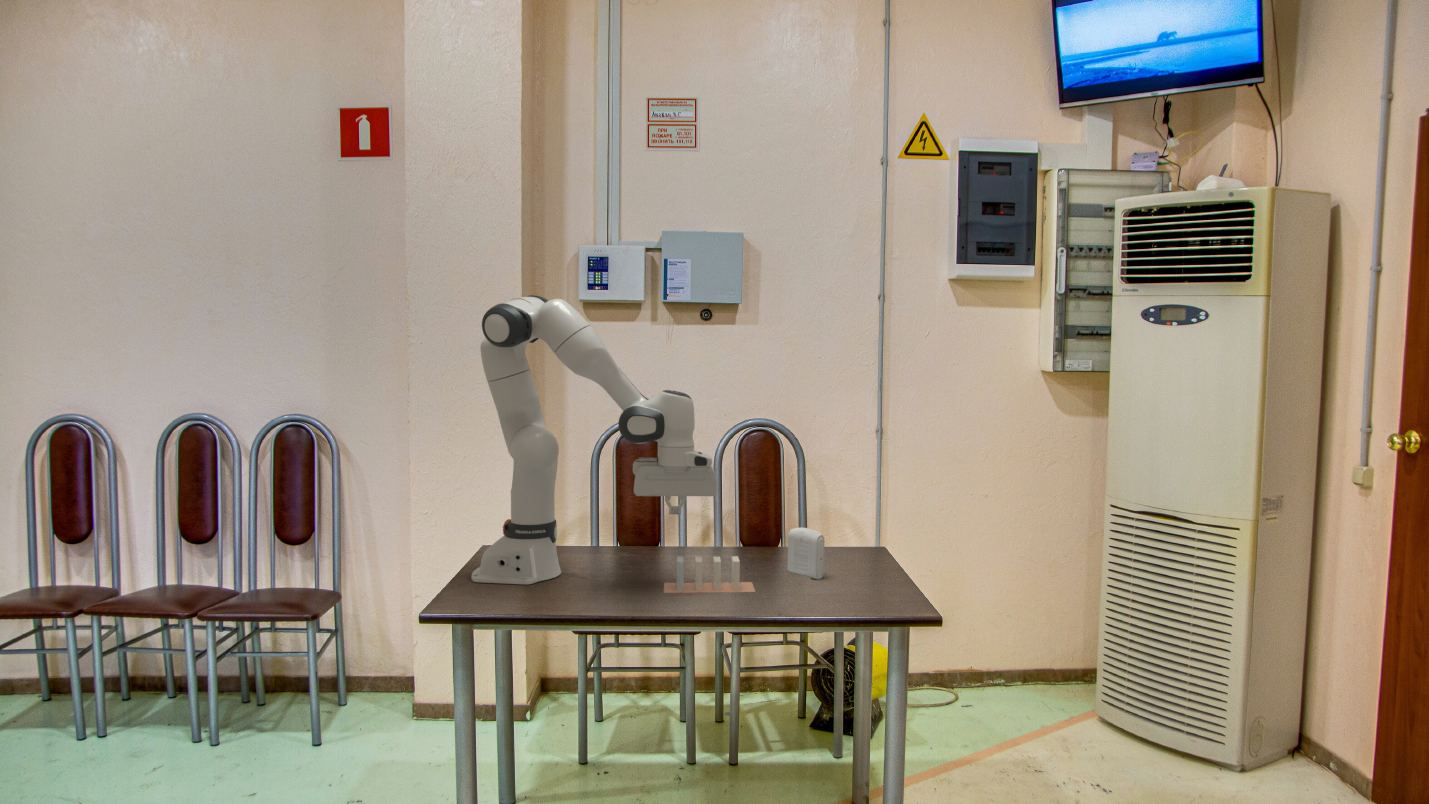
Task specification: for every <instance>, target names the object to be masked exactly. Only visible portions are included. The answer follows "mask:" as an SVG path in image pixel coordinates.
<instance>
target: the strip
mask: <svg viewBox="0 0 1429 804" xmlns="http://www.w3.org/2000/svg"><path fill="white" fill-rule="evenodd" d="M692 593H693V594H699V593H700V594H701V593H702V594H703V593H705V594H706V593H710V594H711V593H712V594H715V593H756V589H755V587H754V584H753V582H751V581H741V582H740V590H733V588H732V585H731V581H730V582H727V581H725V582H722V581H721V590H714V586H713V582H703V584H702V591H696V588H695V582H684V590H682V591H677V582H664V583H663V594H692Z"/></svg>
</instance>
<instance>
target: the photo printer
mask: <svg viewBox="0 0 1429 804" xmlns="http://www.w3.org/2000/svg"><path fill="white" fill-rule="evenodd" d="M825 542H826V540H825V536H824V534H822V533H820V532H819V531H817V530H814V529H811V528H808V527H795V528H791V529H790V530H789V532H788V536H787V571H788V572H791V573H794V574H799V575H802V576H805V577H810V578H811V579H813V580H814V579H815V580H821V579H822V578H824V574H825Z"/></svg>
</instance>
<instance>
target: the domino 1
mask: <svg viewBox="0 0 1429 804" xmlns="http://www.w3.org/2000/svg"><path fill="white" fill-rule="evenodd" d="M684 561H685V560H684V556H676V583H677V591H682V590H684V583H685V582H684V581H685V580H684V579H685V577H684V576H685V575H684V574H685V573H684V572H685V568H684V566H685V565H684V564H685V562H684Z"/></svg>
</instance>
